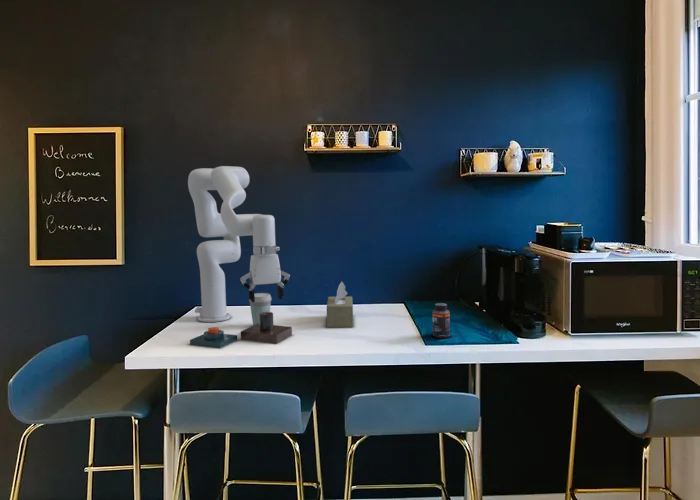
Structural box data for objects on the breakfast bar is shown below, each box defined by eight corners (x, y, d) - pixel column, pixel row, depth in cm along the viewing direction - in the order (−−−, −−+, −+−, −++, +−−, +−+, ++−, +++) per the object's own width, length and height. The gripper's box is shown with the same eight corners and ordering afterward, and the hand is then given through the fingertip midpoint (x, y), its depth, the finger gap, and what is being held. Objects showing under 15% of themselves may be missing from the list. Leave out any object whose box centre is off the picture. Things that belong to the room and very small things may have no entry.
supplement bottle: (450, 334, 177) (451, 302, 176) (448, 339, 171) (448, 306, 170) (433, 333, 179) (434, 301, 178) (430, 337, 173) (431, 305, 172)
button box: (189, 344, 168) (189, 334, 168) (208, 336, 177) (208, 327, 177) (220, 348, 164) (219, 337, 163) (237, 340, 173) (237, 330, 173)
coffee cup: (253, 330, 186) (252, 298, 184) (246, 324, 193) (245, 294, 192) (275, 327, 190) (274, 295, 188) (268, 322, 197) (267, 291, 196)
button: (206, 334, 169) (205, 329, 169) (212, 331, 172) (212, 326, 172) (215, 335, 168) (214, 330, 168) (221, 332, 171) (221, 327, 171)
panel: (240, 339, 173) (240, 331, 173) (257, 331, 183) (257, 323, 183) (276, 343, 168) (276, 334, 168) (292, 335, 178) (291, 326, 178)
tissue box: (353, 327, 188) (352, 285, 186) (326, 327, 188) (326, 286, 186) (352, 315, 206) (352, 277, 205) (328, 315, 206) (328, 277, 205)
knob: (256, 330, 174) (256, 313, 173) (264, 326, 178) (263, 310, 178) (269, 331, 172) (268, 314, 172) (276, 327, 177) (275, 311, 176)
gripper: (285, 248, 179) (287, 296, 181) (237, 251, 172) (239, 300, 174) (292, 250, 173) (293, 299, 174) (241, 253, 165) (243, 304, 167)
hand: (266, 300), depth 174 cm, fingers open, 9 cm apart
